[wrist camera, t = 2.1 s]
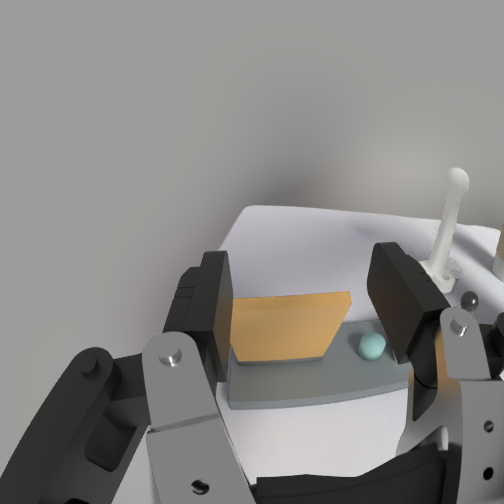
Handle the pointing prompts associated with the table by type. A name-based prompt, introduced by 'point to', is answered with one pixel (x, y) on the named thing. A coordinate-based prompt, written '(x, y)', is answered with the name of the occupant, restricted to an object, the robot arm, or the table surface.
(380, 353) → the push button
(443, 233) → the joystick
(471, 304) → the toggle lever
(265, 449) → the table surface
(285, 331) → the tan flat slab
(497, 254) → the coffee cup
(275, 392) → the panel
